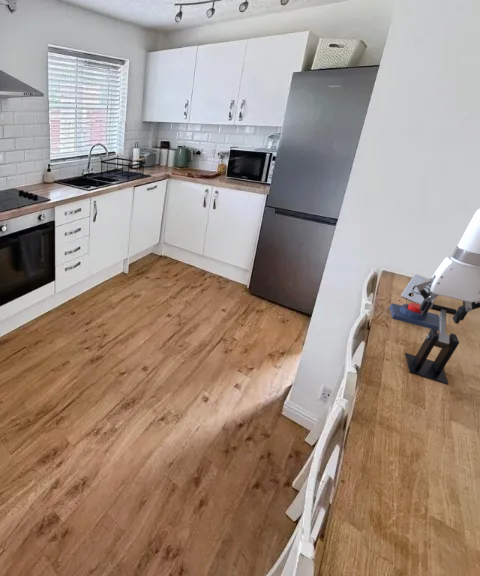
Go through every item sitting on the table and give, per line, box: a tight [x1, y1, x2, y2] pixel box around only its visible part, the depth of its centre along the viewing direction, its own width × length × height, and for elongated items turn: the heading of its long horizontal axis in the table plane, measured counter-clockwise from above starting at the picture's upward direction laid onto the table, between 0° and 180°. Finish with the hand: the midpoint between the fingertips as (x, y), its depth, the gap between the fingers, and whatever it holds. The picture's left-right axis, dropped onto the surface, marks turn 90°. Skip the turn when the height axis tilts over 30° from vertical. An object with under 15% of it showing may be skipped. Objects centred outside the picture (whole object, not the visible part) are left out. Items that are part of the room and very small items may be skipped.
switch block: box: [388, 302, 440, 332], centre depth 122 cm, size 13×10×4 cm
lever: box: [429, 303, 457, 349], centre depth 97 cm, size 13×5×2 cm, turn 146°
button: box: [407, 302, 421, 313], centre depth 122 cm, size 4×4×2 cm
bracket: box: [404, 328, 460, 386], centre depth 97 cm, size 10×8×12 cm
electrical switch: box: [401, 274, 437, 305], centre depth 134 cm, size 9×5×9 cm, turn 28°
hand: (439, 316), depth 101 cm, fingers open, 6 cm apart
